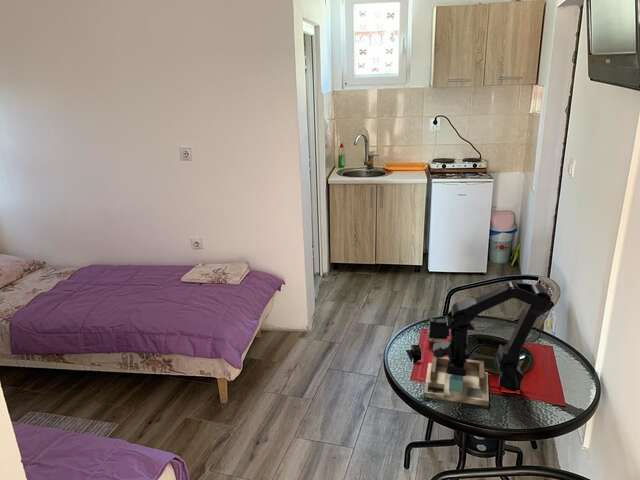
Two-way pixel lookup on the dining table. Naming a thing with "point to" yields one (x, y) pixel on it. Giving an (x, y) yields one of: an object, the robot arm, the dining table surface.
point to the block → (456, 383)
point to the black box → (414, 353)
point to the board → (469, 394)
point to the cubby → (471, 365)
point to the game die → (434, 339)
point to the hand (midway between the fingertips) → (456, 377)
